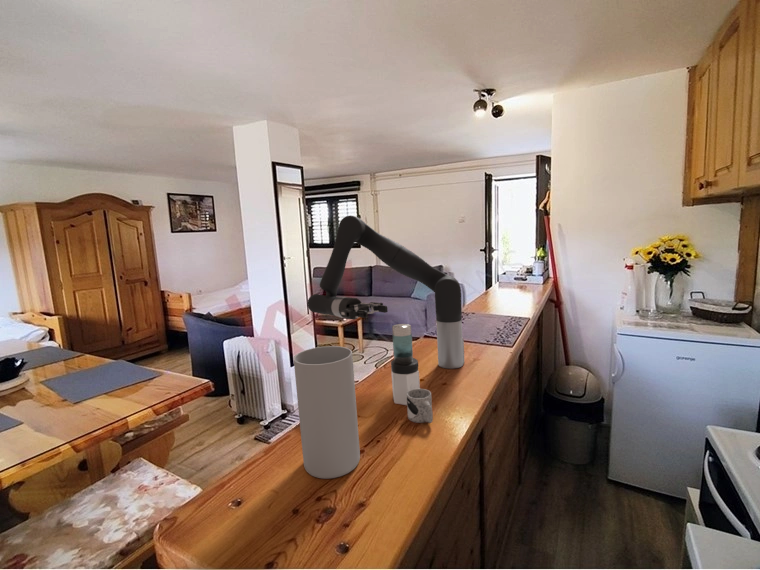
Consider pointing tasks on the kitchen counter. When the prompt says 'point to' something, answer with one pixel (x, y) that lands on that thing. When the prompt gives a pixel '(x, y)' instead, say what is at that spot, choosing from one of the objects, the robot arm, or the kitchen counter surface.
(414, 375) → the jar
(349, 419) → the cylinder vase
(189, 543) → the kitchen counter surface
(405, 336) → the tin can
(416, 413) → the mug
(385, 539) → the kitchen counter surface
